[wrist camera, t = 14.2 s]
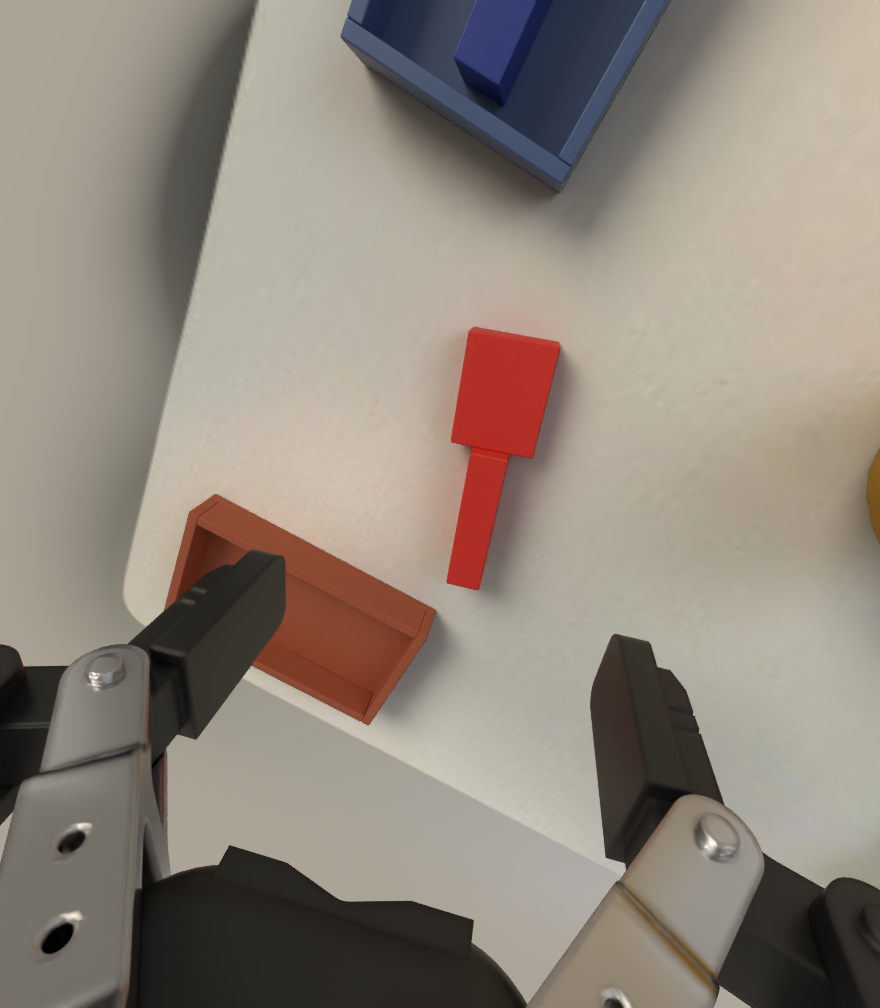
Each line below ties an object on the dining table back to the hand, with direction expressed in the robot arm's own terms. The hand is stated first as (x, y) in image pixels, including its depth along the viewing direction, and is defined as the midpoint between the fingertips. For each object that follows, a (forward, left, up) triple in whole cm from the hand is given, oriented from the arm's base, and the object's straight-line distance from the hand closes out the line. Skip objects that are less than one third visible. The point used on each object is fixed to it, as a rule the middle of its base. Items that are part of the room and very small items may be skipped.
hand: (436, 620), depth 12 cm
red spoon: (0, -2, -14) cm, 15 cm away
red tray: (-10, -14, -14) cm, 22 cm away
